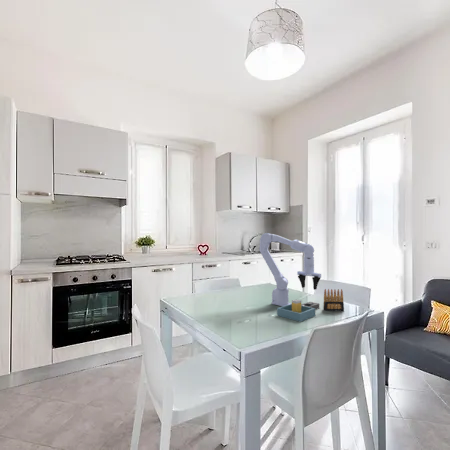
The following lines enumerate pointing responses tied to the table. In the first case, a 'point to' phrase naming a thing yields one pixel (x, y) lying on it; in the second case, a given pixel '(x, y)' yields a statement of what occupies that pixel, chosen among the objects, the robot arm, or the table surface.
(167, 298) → the table surface
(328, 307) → the ammunition clip
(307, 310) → the parts tray
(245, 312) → the table surface
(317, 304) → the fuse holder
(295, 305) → the block
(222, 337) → the table surface
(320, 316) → the table surface
